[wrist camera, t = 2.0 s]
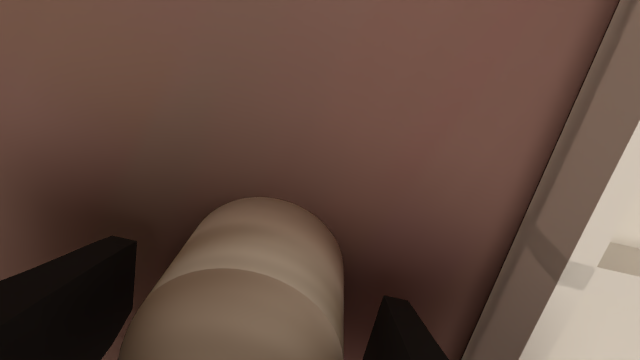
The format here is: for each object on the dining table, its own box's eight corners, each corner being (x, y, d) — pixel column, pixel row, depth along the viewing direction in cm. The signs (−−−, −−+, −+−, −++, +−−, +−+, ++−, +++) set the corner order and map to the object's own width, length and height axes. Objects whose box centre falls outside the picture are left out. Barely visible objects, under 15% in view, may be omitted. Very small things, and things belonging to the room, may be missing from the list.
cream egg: (325, 346, 13) (310, 577, 7) (180, 314, 12) (60, 527, 7) (361, 217, 11) (375, 394, 6) (196, 180, 11) (58, 327, 6)
